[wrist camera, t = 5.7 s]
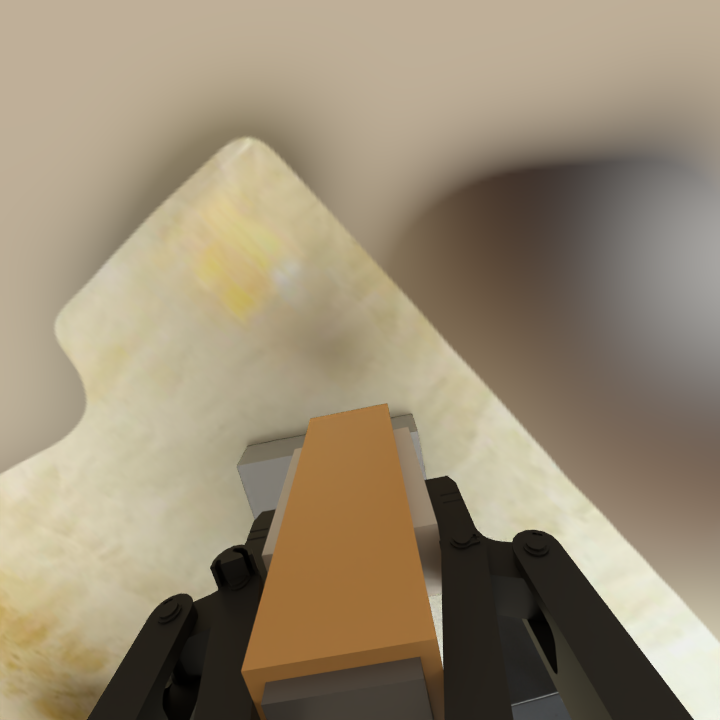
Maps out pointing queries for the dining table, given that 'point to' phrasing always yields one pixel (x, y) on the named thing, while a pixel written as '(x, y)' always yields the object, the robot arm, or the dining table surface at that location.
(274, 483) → the socket
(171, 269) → the dining table surface
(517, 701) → the small box
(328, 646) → the plug
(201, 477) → the dining table surface
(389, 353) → the dining table surface
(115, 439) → the dining table surface
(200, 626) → the robot arm
